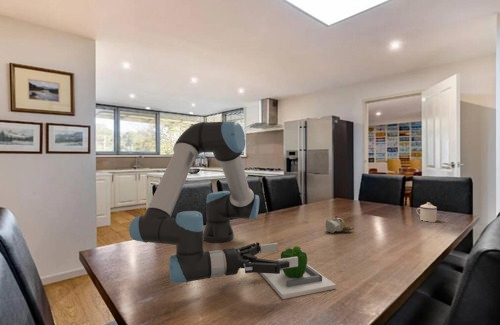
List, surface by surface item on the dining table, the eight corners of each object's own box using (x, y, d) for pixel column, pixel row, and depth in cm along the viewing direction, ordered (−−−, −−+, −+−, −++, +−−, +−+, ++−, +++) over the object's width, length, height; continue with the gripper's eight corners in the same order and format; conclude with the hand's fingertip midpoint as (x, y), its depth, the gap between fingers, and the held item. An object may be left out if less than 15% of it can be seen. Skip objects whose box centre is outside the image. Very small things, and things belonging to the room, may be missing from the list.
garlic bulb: (320, 214, 144) (340, 213, 150) (319, 230, 144) (339, 228, 150) (334, 218, 134) (355, 217, 141) (333, 235, 134) (354, 233, 141)
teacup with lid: (440, 221, 163) (440, 203, 163) (431, 223, 160) (431, 204, 160) (421, 217, 174) (421, 200, 174) (412, 219, 171) (412, 201, 171)
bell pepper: (276, 271, 89) (276, 242, 89) (297, 268, 92) (297, 240, 92) (288, 282, 81) (288, 250, 81) (311, 278, 84) (311, 247, 84)
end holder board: (257, 270, 93) (257, 263, 93) (302, 263, 99) (302, 256, 99) (282, 299, 74) (282, 289, 74) (335, 288, 80) (335, 279, 80)
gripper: (214, 259, 90) (271, 252, 97) (235, 295, 66) (307, 282, 74) (214, 238, 90) (271, 232, 97) (235, 266, 66) (307, 255, 73)
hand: (286, 253), depth 85 cm, fingers open, 13 cm apart
